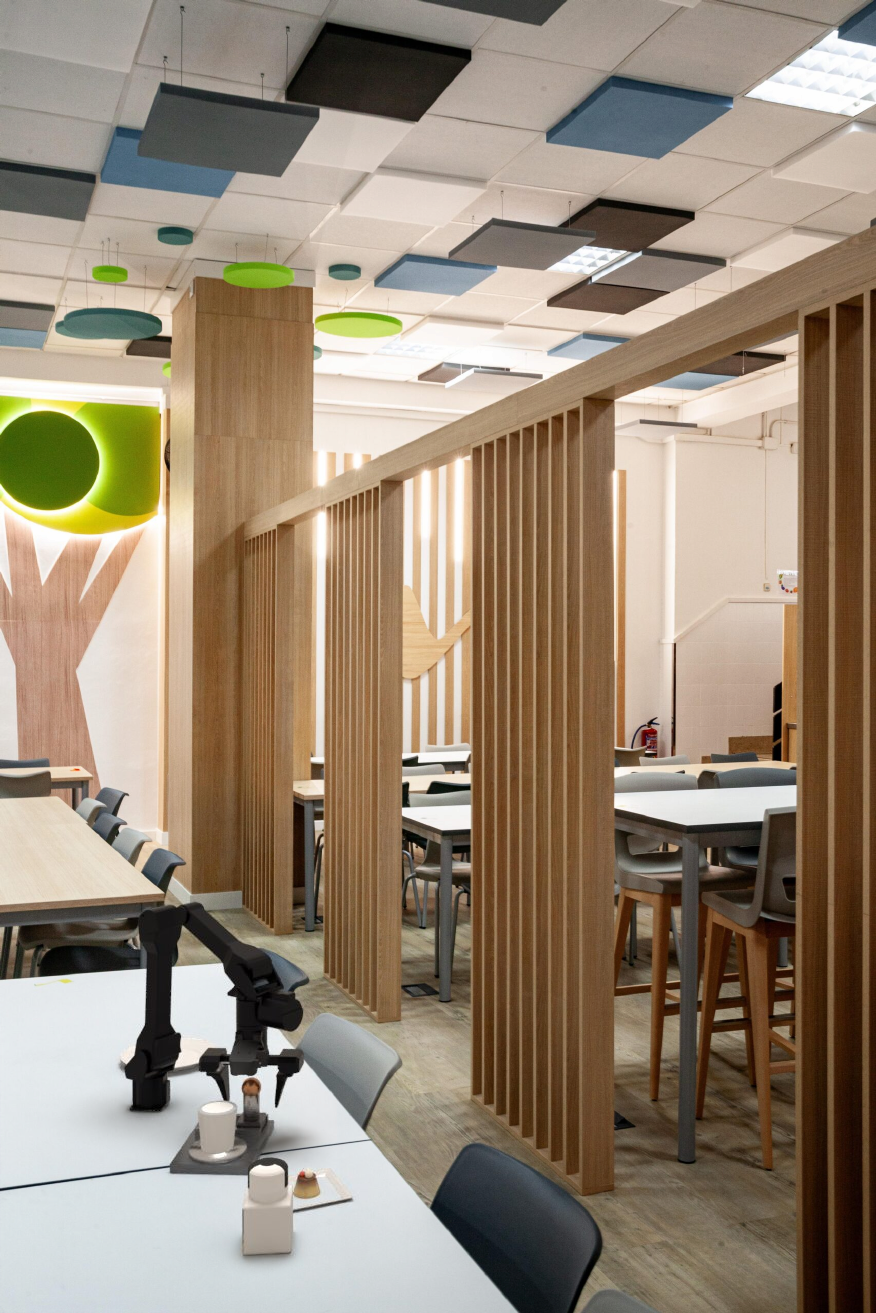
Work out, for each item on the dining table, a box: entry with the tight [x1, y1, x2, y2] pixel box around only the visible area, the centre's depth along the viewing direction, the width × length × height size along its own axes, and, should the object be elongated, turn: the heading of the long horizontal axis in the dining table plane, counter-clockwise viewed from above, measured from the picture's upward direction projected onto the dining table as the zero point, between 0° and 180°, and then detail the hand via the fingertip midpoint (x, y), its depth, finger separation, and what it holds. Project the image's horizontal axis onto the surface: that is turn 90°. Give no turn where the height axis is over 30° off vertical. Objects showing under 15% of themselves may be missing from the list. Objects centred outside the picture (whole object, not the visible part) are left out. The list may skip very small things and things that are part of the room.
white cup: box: [197, 1100, 238, 1154], centre depth 200 cm, size 7×7×7 cm
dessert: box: [288, 1167, 354, 1212], centre depth 187 cm, size 12×12×5 cm
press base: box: [169, 1113, 275, 1176], centre depth 205 cm, size 14×20×3 cm
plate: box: [119, 1037, 217, 1073], centre depth 252 cm, size 21×21×2 cm
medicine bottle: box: [241, 1156, 294, 1256], centre depth 171 cm, size 7×7×12 cm
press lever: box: [237, 1076, 267, 1130], centre depth 210 cm, size 4×5×9 cm
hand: (252, 1106), depth 210 cm, fingers open, 9 cm apart
